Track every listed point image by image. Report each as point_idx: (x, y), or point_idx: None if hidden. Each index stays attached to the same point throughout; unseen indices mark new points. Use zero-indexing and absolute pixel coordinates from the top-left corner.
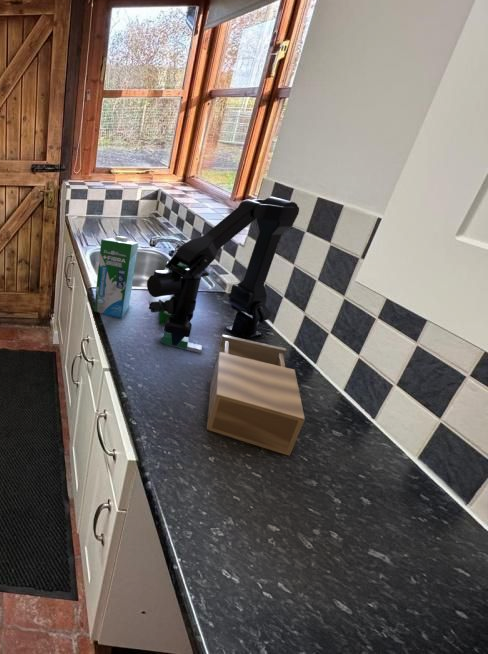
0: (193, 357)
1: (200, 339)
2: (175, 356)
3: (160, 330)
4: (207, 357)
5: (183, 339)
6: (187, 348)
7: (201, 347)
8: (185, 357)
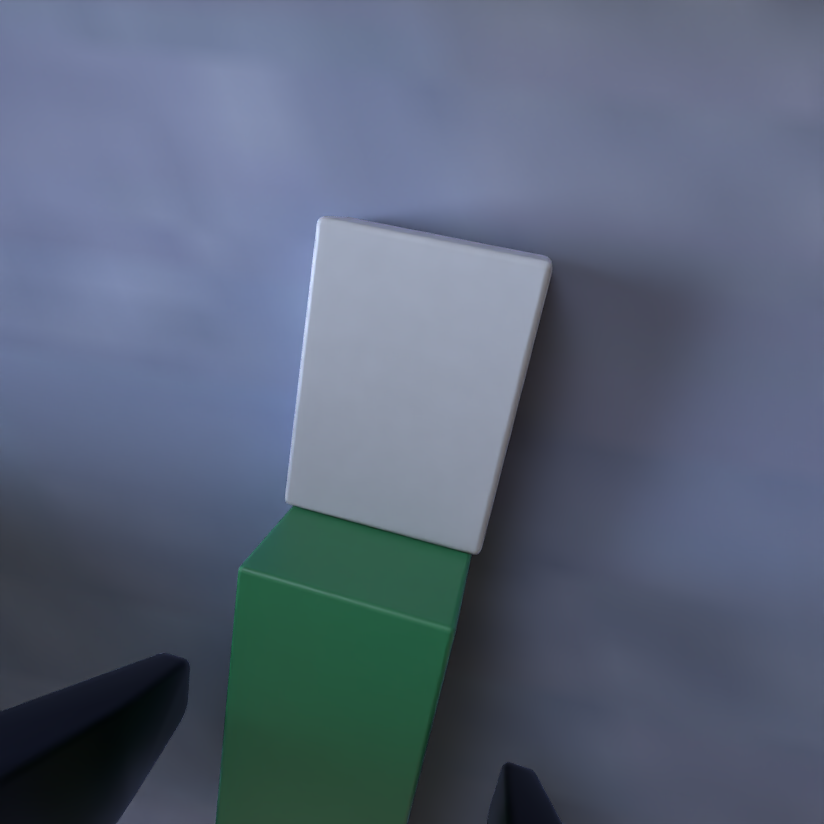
0: (765, 437)
1: (17, 191)
2: (777, 743)
3: None
4: (713, 115)
5: (356, 697)
6: (487, 523)
7: (429, 246)
8: (789, 588)
